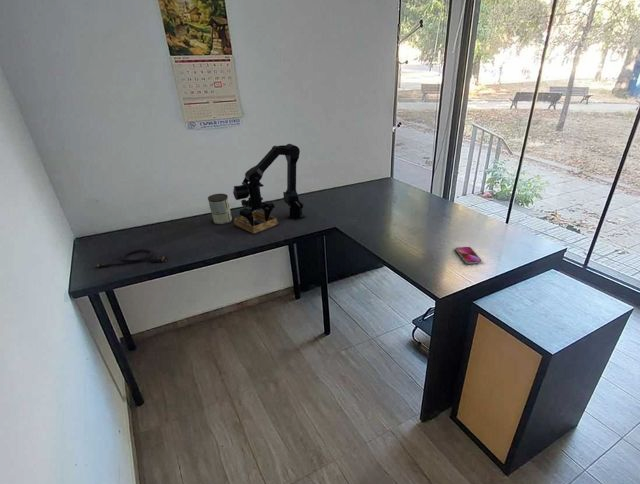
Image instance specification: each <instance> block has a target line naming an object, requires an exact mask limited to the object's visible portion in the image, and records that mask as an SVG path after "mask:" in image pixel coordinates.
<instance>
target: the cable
mask: <svg viewBox="0 0 640 484" xmlns="http://www.w3.org/2000/svg"><path fill="white" fill-rule="evenodd" d="M139 252H147V253H148V255H146V256H144V257H141V258H136V259H128V258H126V256H128V255H131V254H133V253H139ZM152 256H153V252H152V250H151V249H147V248H146V249H145V248H140V249H133V250H129V251H126V252H124V253H122V254H121V255H120V259H121V260H122V261H123V262H121V263H105V262H104V263H98V264H97V265H96V267H97V268H106V267H109V266H119V265H128V264H134V263H139V262H142V261H151V262H152V263H163V262H164V261H165V259H166V256H164V255H157V256H153V257H152Z"/></svg>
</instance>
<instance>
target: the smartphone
mask: <svg viewBox="0 0 640 484" xmlns="http://www.w3.org/2000/svg"><path fill="white" fill-rule="evenodd" d="M455 251H456V253H458V255H459V256H460V258H461V259H462V260H463V262H464V263H465V264H467V265H470V264H472V265H473V264H481V263H482V259H481V258H480V256H478V254H477V253H476V252H475V251H474V250H473V249H472V248H471V246H459V247H455Z"/></svg>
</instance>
